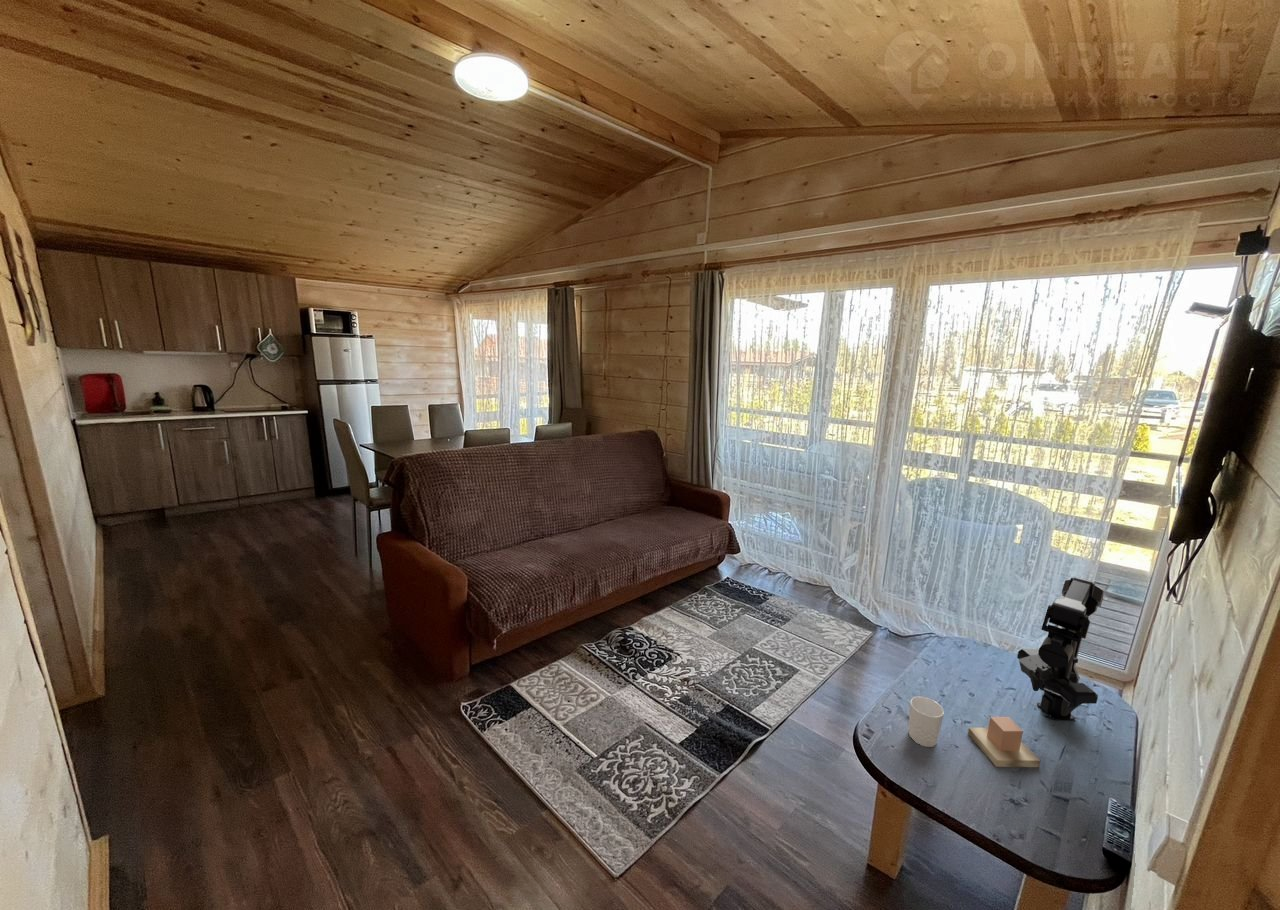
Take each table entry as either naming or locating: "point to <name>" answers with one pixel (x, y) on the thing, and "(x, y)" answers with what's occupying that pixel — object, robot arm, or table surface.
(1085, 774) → the table surface
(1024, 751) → the base slab
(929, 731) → the white cup
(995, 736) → the block
